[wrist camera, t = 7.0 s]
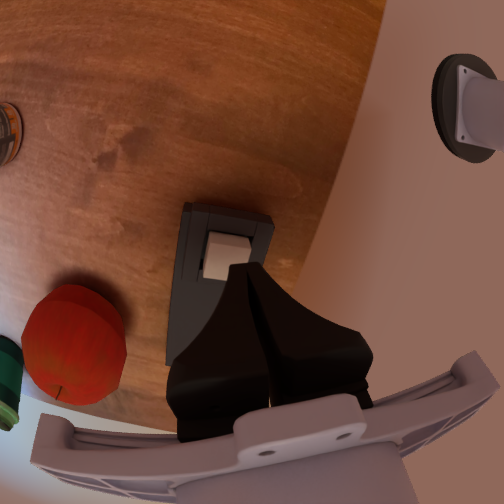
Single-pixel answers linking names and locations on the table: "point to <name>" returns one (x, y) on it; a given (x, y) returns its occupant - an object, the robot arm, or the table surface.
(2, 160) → the pill bottle
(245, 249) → the switch
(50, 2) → the table surface
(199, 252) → the power strip
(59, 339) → the apple
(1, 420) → the cup
